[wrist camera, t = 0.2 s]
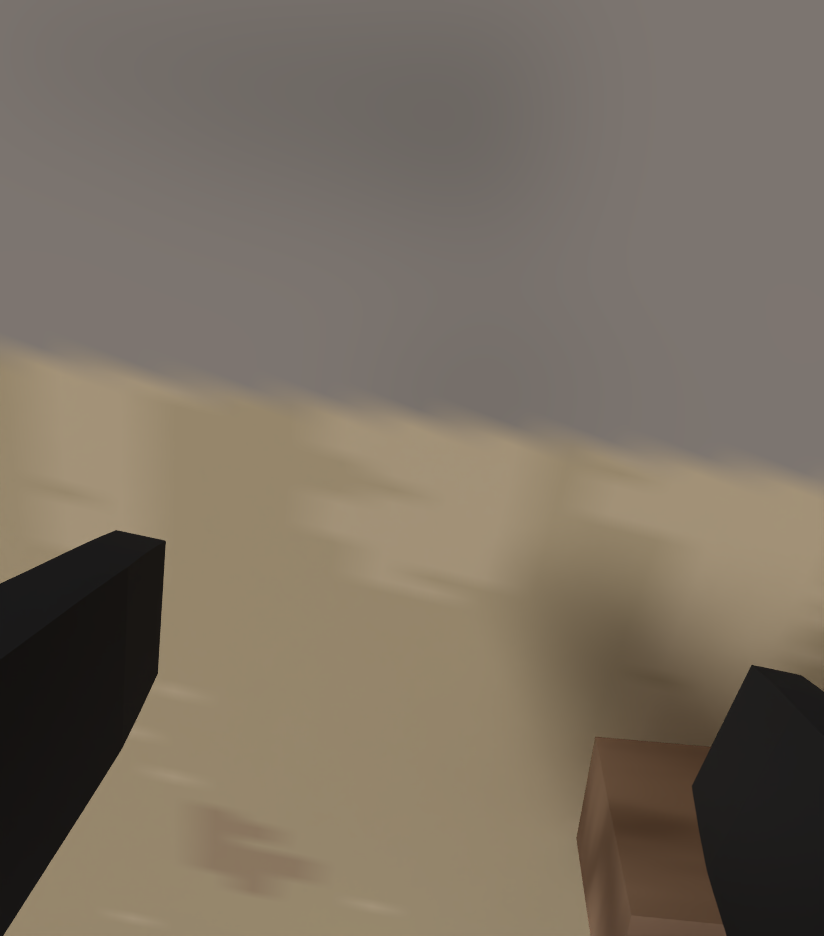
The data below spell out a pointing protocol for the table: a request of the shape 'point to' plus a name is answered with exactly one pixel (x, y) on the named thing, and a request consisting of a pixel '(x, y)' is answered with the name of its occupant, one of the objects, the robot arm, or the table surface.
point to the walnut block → (644, 842)
